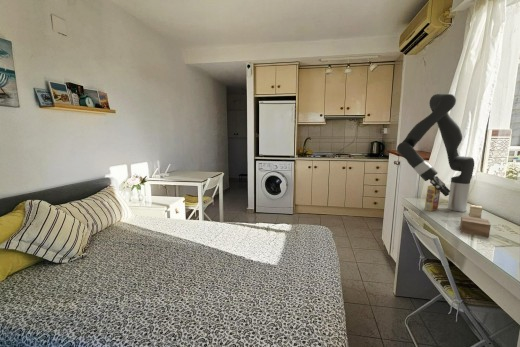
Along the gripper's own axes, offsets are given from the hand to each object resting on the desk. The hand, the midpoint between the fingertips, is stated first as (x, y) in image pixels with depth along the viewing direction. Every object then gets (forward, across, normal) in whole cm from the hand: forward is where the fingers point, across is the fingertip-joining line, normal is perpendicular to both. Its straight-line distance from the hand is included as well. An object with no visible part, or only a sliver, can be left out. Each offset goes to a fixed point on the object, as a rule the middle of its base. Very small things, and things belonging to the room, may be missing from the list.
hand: (448, 194), depth 134 cm
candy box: (+5, +19, +16) cm, 25 cm away
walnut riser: (+19, -11, +2) cm, 22 cm away
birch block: (+19, 0, +2) cm, 19 cm away
